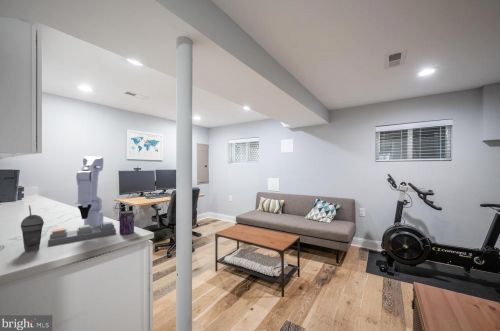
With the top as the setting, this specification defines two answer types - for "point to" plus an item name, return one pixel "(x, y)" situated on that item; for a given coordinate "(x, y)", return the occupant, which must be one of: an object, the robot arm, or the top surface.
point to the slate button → (106, 223)
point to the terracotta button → (58, 230)
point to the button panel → (80, 234)
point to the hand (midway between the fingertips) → (84, 218)
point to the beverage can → (126, 222)
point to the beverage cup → (31, 232)
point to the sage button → (84, 227)
